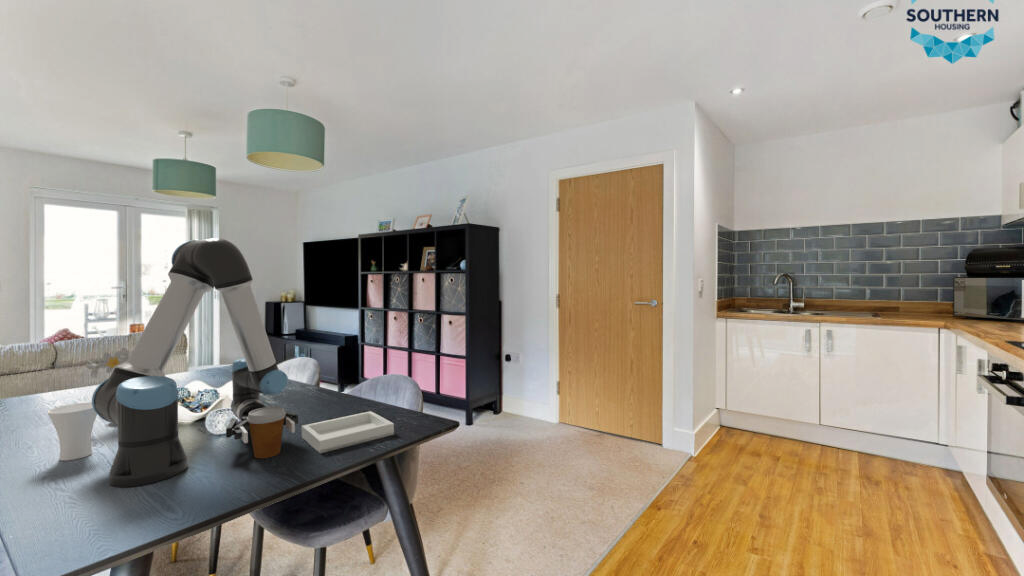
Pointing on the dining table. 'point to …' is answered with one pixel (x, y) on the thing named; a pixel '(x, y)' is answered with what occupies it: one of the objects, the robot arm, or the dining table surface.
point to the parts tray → (346, 431)
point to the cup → (74, 429)
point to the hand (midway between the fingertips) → (270, 432)
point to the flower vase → (109, 361)
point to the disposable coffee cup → (266, 430)
